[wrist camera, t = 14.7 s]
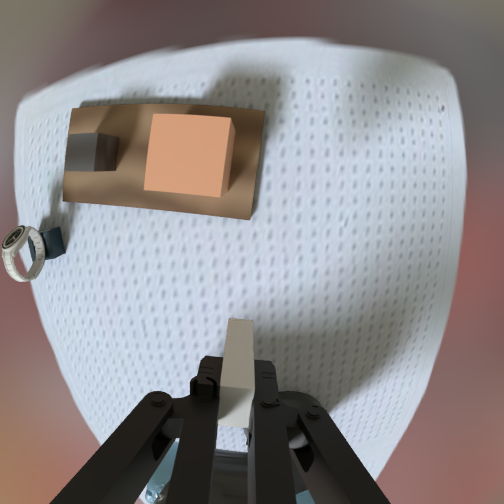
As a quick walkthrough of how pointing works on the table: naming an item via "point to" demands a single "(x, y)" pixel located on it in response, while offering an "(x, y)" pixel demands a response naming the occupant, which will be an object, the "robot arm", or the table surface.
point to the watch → (31, 249)
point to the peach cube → (190, 154)
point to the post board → (135, 158)
